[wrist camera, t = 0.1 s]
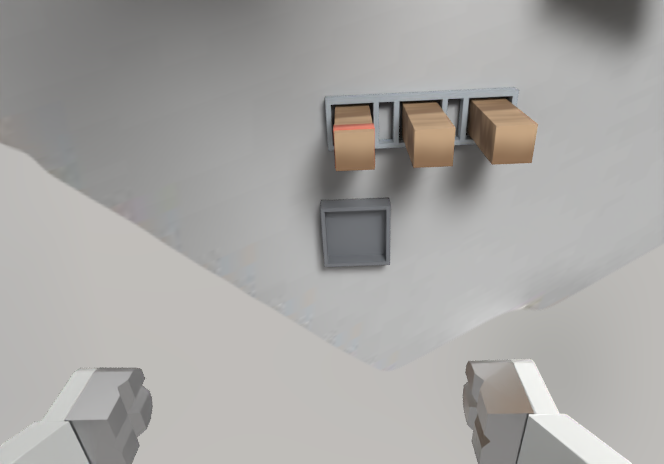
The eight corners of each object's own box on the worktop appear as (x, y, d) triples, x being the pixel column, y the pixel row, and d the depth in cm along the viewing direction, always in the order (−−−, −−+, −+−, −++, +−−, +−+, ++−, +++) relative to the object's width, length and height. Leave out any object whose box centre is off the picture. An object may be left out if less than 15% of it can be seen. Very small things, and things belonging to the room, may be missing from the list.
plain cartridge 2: (469, 98, 55) (496, 126, 46) (503, 97, 55) (537, 124, 46) (466, 131, 57) (491, 164, 48) (499, 130, 57) (531, 162, 48)
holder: (325, 96, 56) (325, 99, 54) (514, 87, 55) (518, 90, 53) (328, 146, 59) (328, 150, 57) (507, 138, 58) (511, 142, 56)
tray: (321, 200, 62) (320, 208, 60) (388, 197, 62) (390, 205, 60) (325, 257, 67) (324, 267, 64) (388, 255, 66) (389, 264, 64)
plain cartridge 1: (402, 102, 56) (414, 129, 46) (435, 100, 56) (455, 128, 46) (401, 134, 58) (413, 167, 48) (434, 133, 58) (452, 166, 48)
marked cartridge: (334, 104, 56) (333, 132, 46) (369, 102, 56) (375, 130, 46) (336, 138, 58) (335, 172, 48) (369, 136, 58) (375, 170, 48)
